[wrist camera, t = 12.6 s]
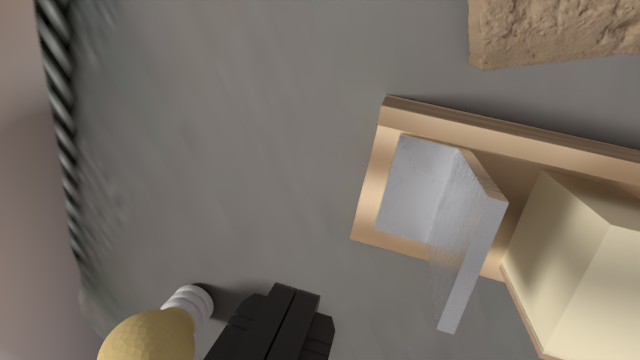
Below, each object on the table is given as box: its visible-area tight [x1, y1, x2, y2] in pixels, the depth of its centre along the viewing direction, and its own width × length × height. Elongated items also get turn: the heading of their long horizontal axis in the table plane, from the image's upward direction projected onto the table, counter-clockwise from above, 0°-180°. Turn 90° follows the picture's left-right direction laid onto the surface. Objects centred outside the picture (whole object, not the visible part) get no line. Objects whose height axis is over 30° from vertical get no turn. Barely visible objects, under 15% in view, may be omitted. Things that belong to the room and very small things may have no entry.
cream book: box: [499, 169, 640, 360], centre depth 19 cm, size 7×4×8 cm, turn 169°
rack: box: [350, 94, 640, 282], centre depth 19 cm, size 10×25×10 cm, turn 79°
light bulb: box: [97, 285, 214, 360], centre depth 28 cm, size 6×6×10 cm
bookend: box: [374, 133, 509, 334], centre depth 20 cm, size 7×4×9 cm, turn 169°
